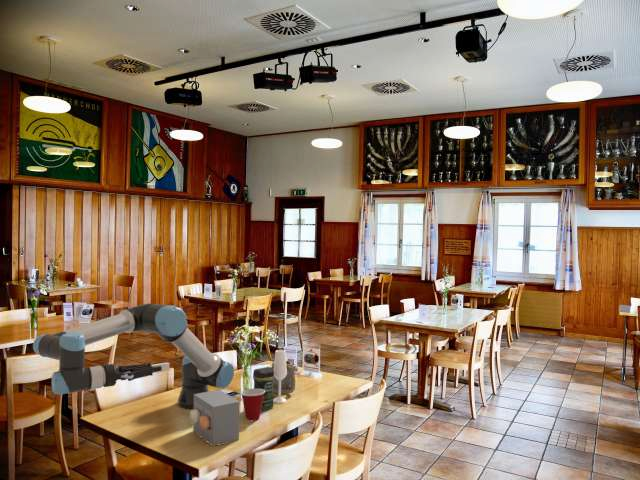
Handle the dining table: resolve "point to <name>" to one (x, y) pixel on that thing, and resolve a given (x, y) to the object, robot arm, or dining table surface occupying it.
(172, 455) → the dining table surface
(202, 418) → the terracotta knob
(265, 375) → the coffee jar
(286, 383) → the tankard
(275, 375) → the champagne flute
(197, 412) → the ivory knob
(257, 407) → the plastic cup
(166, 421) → the dining table surface
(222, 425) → the block
